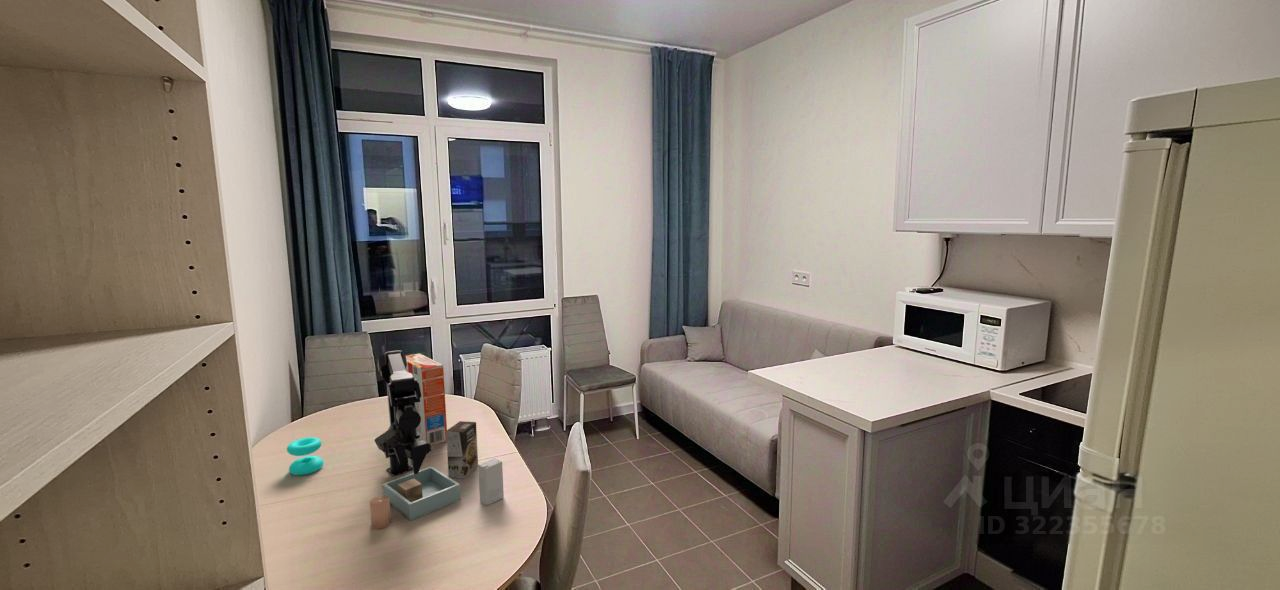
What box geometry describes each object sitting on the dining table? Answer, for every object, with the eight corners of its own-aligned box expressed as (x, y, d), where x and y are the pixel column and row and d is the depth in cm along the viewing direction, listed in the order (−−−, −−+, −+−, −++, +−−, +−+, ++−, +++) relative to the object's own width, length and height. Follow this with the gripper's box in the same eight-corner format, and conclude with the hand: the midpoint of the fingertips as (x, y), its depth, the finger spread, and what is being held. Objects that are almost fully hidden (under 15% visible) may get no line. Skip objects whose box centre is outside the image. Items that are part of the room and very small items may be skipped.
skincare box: (495, 493, 169) (494, 456, 167) (504, 498, 166) (503, 461, 164) (478, 501, 164) (476, 463, 163) (487, 506, 162) (485, 468, 160)
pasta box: (447, 440, 208) (443, 364, 204) (426, 447, 203) (421, 369, 198) (424, 423, 225) (419, 353, 220) (404, 429, 219) (399, 356, 215)
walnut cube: (414, 493, 167) (413, 478, 167) (422, 499, 164) (421, 483, 163) (398, 500, 164) (397, 484, 163) (406, 505, 161) (405, 490, 160)
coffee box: (465, 478, 178) (463, 432, 176) (447, 477, 180) (445, 430, 177) (479, 466, 187) (476, 421, 185) (462, 464, 189) (459, 420, 186)
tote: (383, 499, 166) (382, 484, 165) (432, 480, 177) (431, 466, 176) (410, 521, 154) (409, 504, 153) (460, 499, 166) (459, 484, 165)
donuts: (282, 442, 183) (315, 433, 190) (285, 470, 185) (318, 460, 192) (291, 451, 176) (325, 441, 184) (294, 479, 178) (327, 469, 185)
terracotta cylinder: (368, 523, 153) (367, 500, 152) (386, 517, 156) (385, 494, 155) (375, 531, 149) (373, 507, 148) (393, 524, 153) (392, 500, 152)
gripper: (363, 418, 160) (367, 468, 163) (391, 435, 148) (395, 489, 150) (401, 408, 168) (404, 456, 171) (430, 424, 156) (433, 475, 158)
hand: (408, 468), depth 162 cm, fingers open, 9 cm apart
